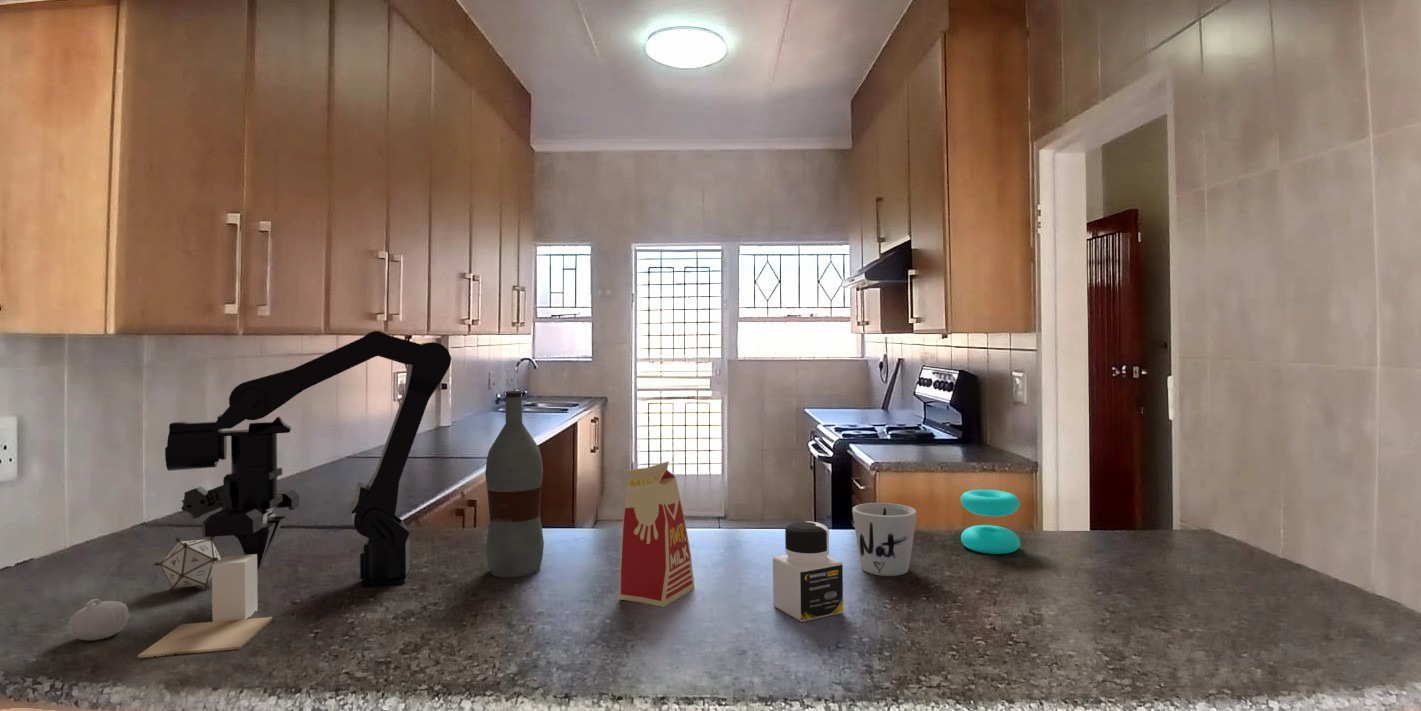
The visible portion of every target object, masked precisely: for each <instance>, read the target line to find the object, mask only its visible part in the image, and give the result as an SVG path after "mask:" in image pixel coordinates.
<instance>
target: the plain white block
mask: <svg viewBox="0 0 1421 711" xmlns="http://www.w3.org/2000/svg"><path fill="white" fill-rule="evenodd" d="M221 558H222V559H220V560H218V561H217V562H215V563H213V564H212V578H211V586H212V587H211V590H212V591H211V597H212V598H211V602H212V606H211V607H212V610H211V612H212V622H216V621H229V620H241V619H247V618H248V617H249V618H250V617H252V615H254V614H255V613H256V612H257V611H258V610H259V609H258V607H259V606H258V600H259V598H258V570H257V554H251V555H245V554H241V555H240V554H239V555H225V556H223V557H221ZM255 611H256V612H255ZM254 612H255V613H254ZM253 613H254V614H253ZM249 618H248V619H249Z"/></svg>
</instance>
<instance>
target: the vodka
mask: <svg viewBox="0 0 1421 711" xmlns="http://www.w3.org/2000/svg"><path fill="white" fill-rule="evenodd" d="M504 394H505V424H504V425H503V427H502V429H501V430H500V432H499V434H498V435H497V437H496V438H495V440H494V442H493V443H492V444H491V447H490V448H489V450H488V452H487V457H486V462H485V465H486V466H485V475H484V476H485V482H486V487H487V488H486V490H487V500H488V501H487V502H488V512H489V521H488V522H489V523H488V529H487V534H486V535H487V536H486V537H487V538H486V545H485V546H486V547H485V550H486V551H485V552H486V559H487V566H488V568H489V572H490V574H491V575H492V576H494V577H498V578H508V579H509V578H520V577H527V576H530V575H532V574H535V573H537V572H538V571H540V569H541V565H542V562H543V556H544V546H545V542H544V535H543V526H542V521H541V501H542V500H541V498H542V484H543V473H544V467H543V460H542V453H541V450H540V447H539V445H538V444H537V442H536V441H535V439H534V438H533V437H532V435H531V433H530V432H529V431H528V428H526V426H525V424H524V423H523V402H522V401H523V400H522V396H523V395H522V394H523V391H522V390H507V391H505V392H504Z"/></svg>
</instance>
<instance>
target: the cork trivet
mask: <svg viewBox="0 0 1421 711" xmlns="http://www.w3.org/2000/svg"><path fill="white" fill-rule="evenodd" d="M272 620H273V616H267V617H254V618H248V619H241V620H229V621H216V622H213V621H207V622H205V621H204V622H195V623H183V624H180V625H178V626H177V627H175V628H174V629H173V630H172V631H170V632H169V633H167V634H166V635H165V636H163V637H161V639H159V640H158V641H156V642H155V643H153V644H152V645H150V646H149V647H148V648H146V649H145V650H143V651H142V652H141V653H139V654H138V655H137V659H142V658H143V659H144V658H153V657H154V656H155V657H165V655H167V656H175V655H174V654H178V655H187V654H188V653H189V654H197V653H198V654H199V653H200V654H201V653H209V652H221V651H222V652H223V651H233V650H241V649H242V648H243V647H244V646H245V645H246V644H247V643H249V641H251V640H252V638H254V637H255V636H256V635H257V634H258V633H259V632H260V631H261V630H262V629H263V628H264V627H266V626H267V624H269V623H270V622H271V621H272Z"/></svg>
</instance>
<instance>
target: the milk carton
mask: <svg viewBox="0 0 1421 711" xmlns="http://www.w3.org/2000/svg"><path fill="white" fill-rule="evenodd" d="M668 466H669V461H666V462H662V463H661V462H660V463H658V464H655V465H652V466H649V467H641V468H640V467H639V468H633V469H624V470H623V471H624V472H625V473H626V474H628V476H627V481H626V482H627V483H626V487H625V498H624V499H625V500H624V508H623V518H622V530H621V531H622V532H621V547H620V549H621V550H620V562H619V563H620V566H619V596H618V598H619V600H621V601H622V600H623V601H628V602H629V601H631V602H637V603H643V604H647V605H651V606H657V607H661V608H664V607H666V606H668V605H669V604H672V603H673V602H674V601H676V600H678V599H680V598H681V597H683V596H684V595H686V594H688V593H689V592H691V591H692V590H694V589H695V581H694V580H695V579H694V570H693V563H692V562H693V561H692V553H691V548H690V543H689V542H690V541H689V536H688V529H687V523H686V517H685V513H684V508H683V504H682V501H681V500H682V499H681V497H680V496H681V495H680V492H679V487H678V483H677V478H676V476H675V475H674V474H673V473H672V472H671V471H670V470H668Z"/></svg>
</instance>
